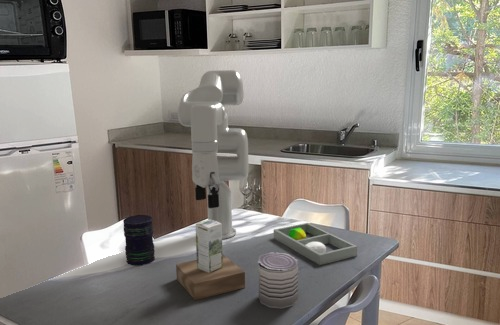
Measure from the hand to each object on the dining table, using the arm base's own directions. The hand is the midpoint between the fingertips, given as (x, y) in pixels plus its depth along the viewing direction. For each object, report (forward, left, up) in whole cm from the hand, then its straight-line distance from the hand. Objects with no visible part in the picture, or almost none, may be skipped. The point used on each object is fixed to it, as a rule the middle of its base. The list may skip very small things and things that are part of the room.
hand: (207, 203), depth 137 cm
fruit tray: (-9, +45, -25) cm, 52 cm away
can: (+19, +13, -26) cm, 35 cm away
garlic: (-4, +42, -26) cm, 49 cm away
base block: (0, 0, -25) cm, 25 cm away
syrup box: (+1, 0, -21) cm, 21 cm away
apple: (-14, +42, -26) cm, 51 cm away
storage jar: (-29, -14, -26) cm, 41 cm away
